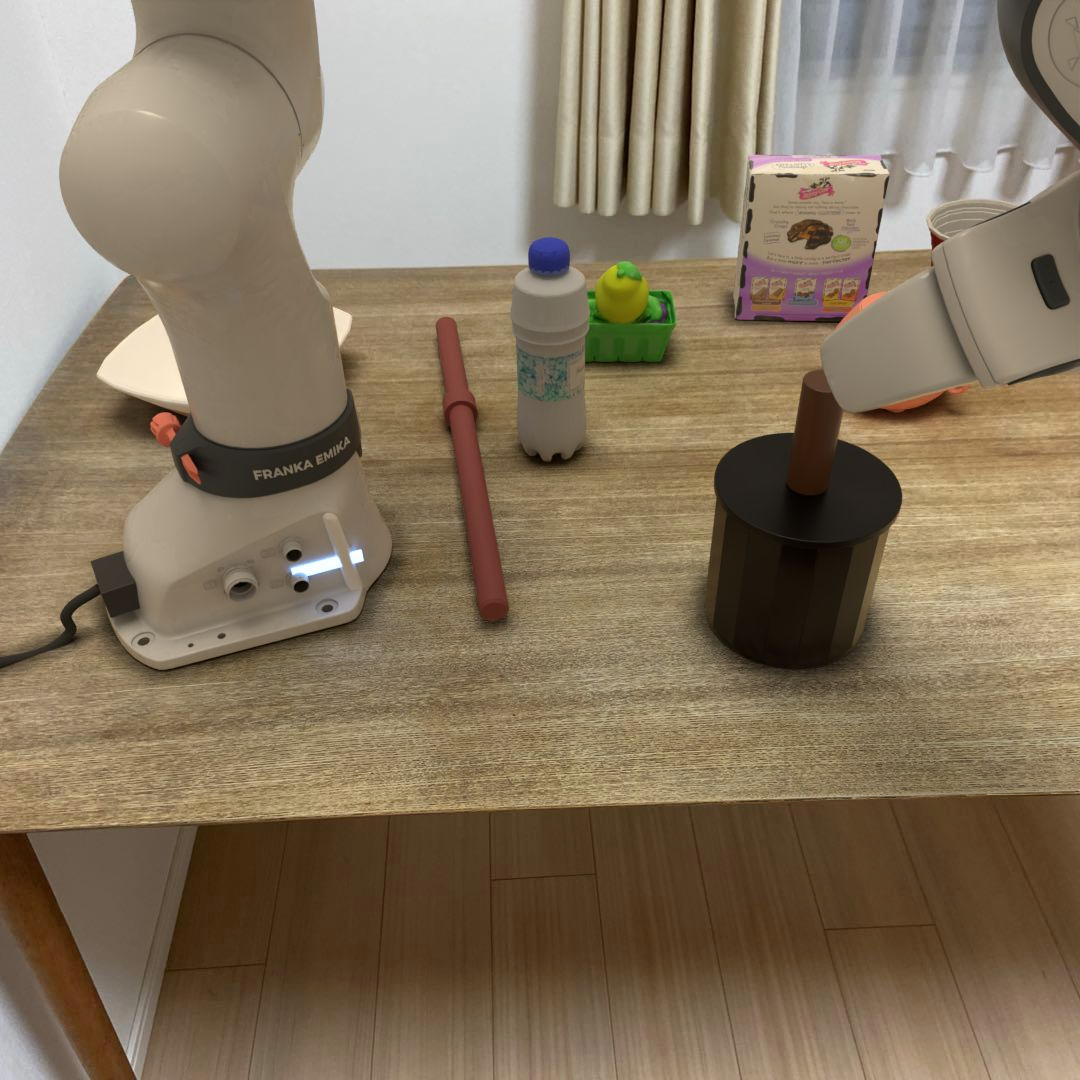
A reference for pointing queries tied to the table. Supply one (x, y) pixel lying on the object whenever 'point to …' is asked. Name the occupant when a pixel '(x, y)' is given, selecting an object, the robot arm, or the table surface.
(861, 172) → the candy box
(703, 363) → the table surface
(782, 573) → the faceted dark cup
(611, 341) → the fruit basket
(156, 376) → the bowl
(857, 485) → the lid
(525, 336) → the bottle
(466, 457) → the red brown collared rod
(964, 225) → the plastic cup
